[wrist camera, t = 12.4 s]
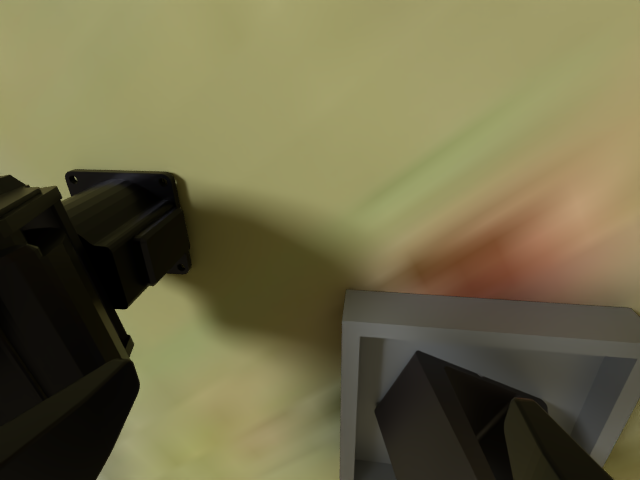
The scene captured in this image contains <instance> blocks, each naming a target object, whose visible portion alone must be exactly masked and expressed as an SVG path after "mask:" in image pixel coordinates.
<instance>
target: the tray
mask: <svg viewBox="0 0 640 480" xmlns="http://www.w3.org/2000/svg"><path fill="white" fill-rule="evenodd" d="M416 351H422V352H424V353H427V354H429V355H432V356H434V357H437V358H439V359H442V360H444V361H447V362H449V363H452V364H454V365H457V366H459V367H462V368H464V369H467V370H469V371H472V372H474V373H477V374H478V375H479V376H480V377H483V376H485V377H487V378H490V379H492V380H495V381H497V382H500V383H502V384H505V385H507V386H510V387H512V388H515V389H517V390H520V391H522V392H525V393H527V394H530V395H532V396H535V397H537V398H540V399H542V400H543V401H544V402H545V403H546V405H547V407H548V414H549V415H550V416H551V417H552V418H553V419H554V420H555V421H556V422H557V423H558V424H559V425H560V426H561V427H562V428H563V429H564V430H565V431H566V432H567V433H568V434H569V435H570V436H571V437H572V438H573V439H574V440H575V441H576V442H577V443H578V444H579V445H580V446H581V447H582V448H583V449H584V450H585V451H586V452H587V453H588V454H589V455H590V456H591V457H592V458H593V459H594V460H595V461H596V462H597V463H598V464H599V465H600V466H601V467H602V468H603V466H604V464H605V462H606V460H607V458H608V456H609V454H610V453H611V451H612V449H613V447H614V445H615V443H616V441H617V439H618V438H619V436H620V434H621V432H622V430H623V428H624V426H625V424H626V423H627V421H628V419H629V417H630V415H631V413H632V411H633V409H634V407H635V406H636V404H637V402H638V400H639V398H640V317H639V316H638V315H637V314H636V313H635V312H634V311H633V310H632V309H631V308H621V307H606V306H591V305H575V304H560V303H545V302H530V301H514V300H499V299H484V298H468V297H453V296H438V295H423V294H407V293H392V292H377V291H362V290H346V295H345V302H344V310H343V318H342V360H341V426H340V480H397V479H396V476H395V473H394V470H393V467H392V464H391V461H390V458H389V455H388V452H387V449H386V446H385V443H384V440H383V437H382V434H381V431H380V428H379V425H378V422H377V419H376V416H375V412H374V410H375V409H376V407H377V406H378V404H379V403H380V401H381V400H382V399H383V397H384V396H385V394H386V393H387V392H388V390H389V389H390V387H391V386H392V384H393V383H394V382H395V380H396V379H397V377H398V376H399V375H400V373H401V372H402V370H403V369H404V368H405V366H406V365H407V363H408V362H409V360H410V359H411V358H412V356H413V355H414V353H415V352H416Z"/></svg>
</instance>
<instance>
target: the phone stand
mask: <svg viewBox="0 0 640 480" xmlns="http://www.w3.org/2000/svg"><path fill="white" fill-rule="evenodd" d="M516 397H517V398H527V399H532V400H534V401H535V402H537V403H538V404H539V405H540V406H541V407H542V408H543V409H544V410H545V411H546V412H547V413H548V407H547V405H546V403H545V402H544V401H543V400H542V399H540V398H537V397H535V396H532V395H530V394H527V393H525V392H522V391H520V390H517V389H515V388H512V387H510V386H507V385H505V384H502V383H500V382H497V381H495V380H492V379H490V378H487V377H485V376H483V377H480V376H479V375H478V374H477V373H474V372H472V371H469V370H467V369H464V368H462V367H459V366H457V365H454V364H452V363H449V362H447V361H444V360H442V359H439V358H437V357H434V356H432V355H429V354H427V353H424V352H422V351H416V352H415V353H414V355H413V356H412V358H411V359H410V360H409V362H408V363H407V365H406V366H405V368H404V369H403V370H402V372H401V373H400V375H399V376H398V377H397V379H396V380H395V382H394V383H393V384H392V386H391V387H390V389H389V390H388V392H387V393H386V394H385V396H384V397H383V399H382V400H381V401H380V403H379V404H378V406H377V407H376V409H375V410H374V412H375V416H376V419H377V422H378V425H379V428H380V431H381V434H382V437H383V440H384V443H385V446H386V449H387V452H388V455H389V458H390V461H391V464H392V467H393V470H394V473H395V476H396V479H397V480H513V475H512V470H511V465H510V459H509V454H508V449H507V444H506V439H505V434H504V421H505V418H506V415H507V411H508V408H509V405H510V402H511V400H512V399H513V398H516Z"/></svg>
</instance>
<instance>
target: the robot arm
mask: <svg viewBox="0 0 640 480" xmlns="http://www.w3.org/2000/svg"><path fill="white" fill-rule="evenodd" d="M74 176H75V177H76V178H77V180H78V181H77V180H75V178H74ZM162 178H164V179H165V180H166V181H167V184H165V183H164V182H163V180H162ZM65 179H66V182H67V185H68V188H69V191H70V194H71V197H69V198H67V199H65V200H63V201H61V200H60V199H62V196H61V194H60V192H59V190H58V188H57V186H51V187H44V188H39V187H30V186H29V185H25V184H24V183H22V182H20V181H19V180H17V179H16V178H14V177H13V176H11V175H5V176H0V480H96V479H97V477H98V475H99V474H100V472H101V470H102V468H103V467H104V465H105V463H106V461H107V459H108V457H109V456H110V454H111V452H112V450H113V448H114V445H115V443H116V441H117V439H118V437H119V435H120V432H121V430H122V428H123V426H124V423H125V421H126V419H127V417H128V415H129V412H130V410H131V408H132V406H133V403H134V401H135V399H136V397H137V395H138V392H139V388H140V382H139V379H138V376H137V372H136V369H135V366H134V363H133V362H132V361H131V360H130V358H129V357H130V354H131V352H132V349H133V346H134V342H133V340H132V338H131V336H130V335H127V333H126V331H125V329H124V327H123V325H122V323H121V321H120V319H119V317H118V315H117V313H116V311H115V309H127V308H128V307H129V306H130V305H131V304H132V303H133V302H134V301H135V300H136V299H137V298H138V297H139V296H140V294H141V293H142V292H143V291H144V290H145V289H146V288H147V287H148V286H154V285H156V284H157V283H158V281H159V280H160V279H161V278H162V277H163V276H164V275H165V274H166V273H170V274H186V273H188V272H189V270H190V269H191V267H192V264H191V259H190V254H189V249H190V244H189V239H188V234H187V229H186V223H185V218H184V213H183V211H182V209H181V208H180V203H179V198H178V193H177V188H176V183H175V179H174V177H173V176H172V175H171V174H170V173H168V172H159V171H121V170H84V169H75V170H71V171H69V172H67V173H66V175H65ZM181 264H183V265H184V266H185V268H184V267H182V266H181ZM504 434H505V439H506V444H507V449H508V454H509V459H510V465H511V470H512V475H513V480H614V479H613V478H612V477H611V476H610V475H609V474H608V473H607V472H606V471H605V470H604V469H603V468H602V467H601V466H600V465H599V464H598V463H597V462H596V461H595V460H594V459H593V458H592V457H591V456H590V455H589V454H588V453H587V452H586V451H585V450H584V449H583V448H582V447H581V446H580V445H579V444H578V443H577V442H576V441H575V440H574V439H573V438H572V437H571V436H570V435H569V434H568V433H567V432H566V431H565V430H564V429H563V428H562V427H561V426H560V425H559V424H558V423H557V422H556V421H555V420H554V419H553V418H552V417H551V416H550V415H549V414H548V413H547V412H546V411H545V410H544V409H543V408H542V407H541V406H540V405H539V404H538V403H537V402H535V401H534V400H532V399H527V398H517V397H516V398H513V399H512V400H511V402H510V405H509V408H508V411H507V415H506V418H505V421H504Z"/></svg>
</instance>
